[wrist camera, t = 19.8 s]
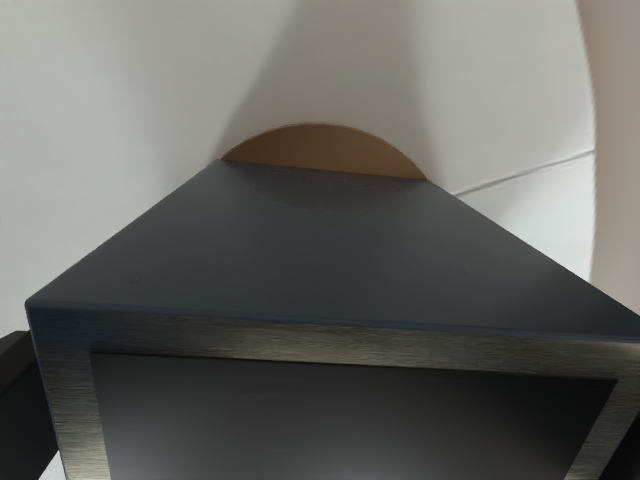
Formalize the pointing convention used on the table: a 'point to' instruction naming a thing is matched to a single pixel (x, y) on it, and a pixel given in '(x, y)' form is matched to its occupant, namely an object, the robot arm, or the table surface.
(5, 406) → the robot arm
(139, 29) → the table surface
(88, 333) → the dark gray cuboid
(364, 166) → the cork trivet
